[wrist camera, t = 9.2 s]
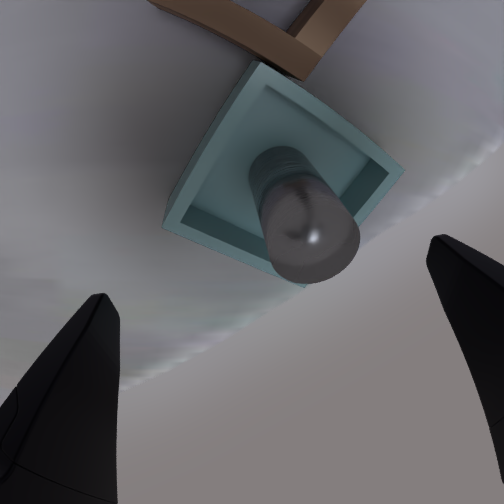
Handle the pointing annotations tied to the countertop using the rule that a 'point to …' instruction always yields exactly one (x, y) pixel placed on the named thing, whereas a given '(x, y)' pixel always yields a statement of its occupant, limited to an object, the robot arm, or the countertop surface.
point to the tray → (257, 141)
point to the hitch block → (271, 29)
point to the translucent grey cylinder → (301, 217)
